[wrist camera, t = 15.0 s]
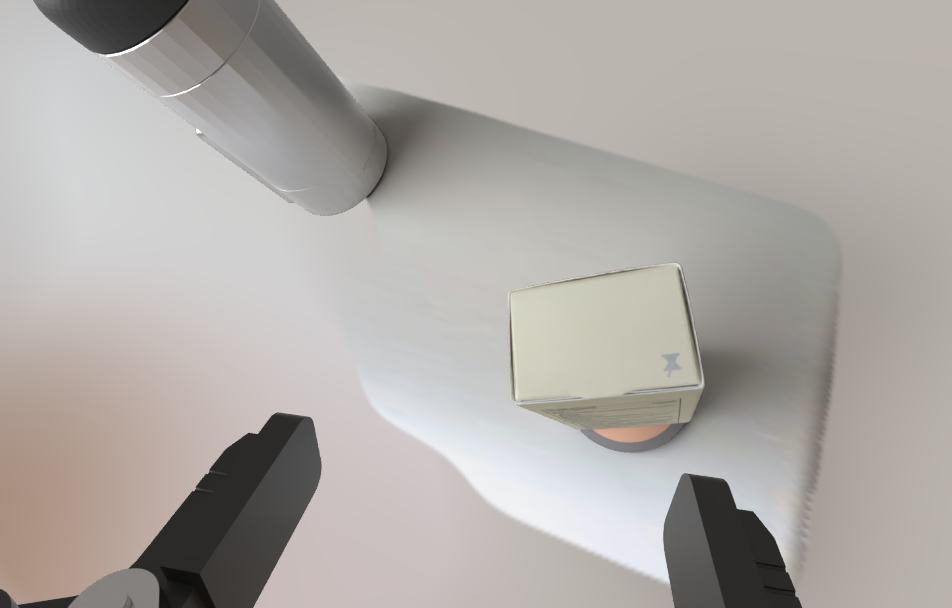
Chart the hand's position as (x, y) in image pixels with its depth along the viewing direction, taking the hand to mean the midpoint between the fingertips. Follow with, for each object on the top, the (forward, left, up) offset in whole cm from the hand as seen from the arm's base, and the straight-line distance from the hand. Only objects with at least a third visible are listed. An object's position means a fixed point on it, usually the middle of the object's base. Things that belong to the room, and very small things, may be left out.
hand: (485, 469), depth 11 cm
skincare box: (+2, +4, -18) cm, 18 cm away
